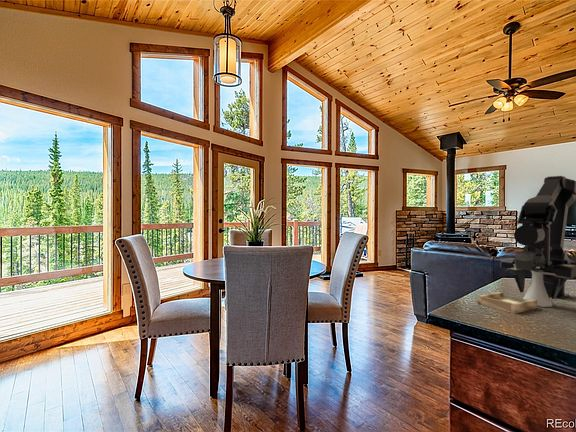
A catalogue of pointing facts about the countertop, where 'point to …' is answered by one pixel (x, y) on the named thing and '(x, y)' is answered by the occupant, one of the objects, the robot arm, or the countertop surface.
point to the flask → (538, 290)
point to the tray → (506, 302)
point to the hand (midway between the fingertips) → (537, 295)
